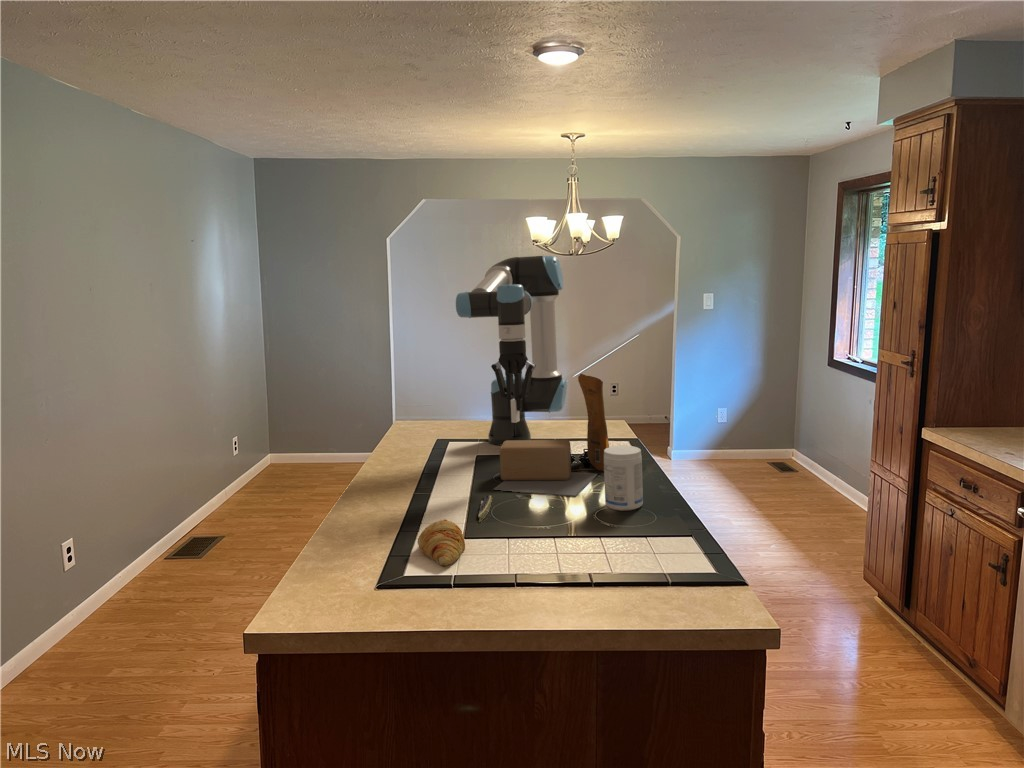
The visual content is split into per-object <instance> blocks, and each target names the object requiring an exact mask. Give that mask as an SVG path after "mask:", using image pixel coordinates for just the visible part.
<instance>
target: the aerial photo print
mask: <svg viewBox="0 0 1024 768" xmlns="http://www.w3.org/2000/svg"><path fill="white" fill-rule="evenodd" d="M492 496H493V495H491V494H490V495H484V497H483V500H481V502H480V505H479V510H478V518H479V520H478V523H480V522H481V521H482V520H483V519H484V518H485V517H486V515H487V514H488V512H489V510H490V507H491V502H492V499H493V498H492ZM513 496H516V497H519V498H520V497H522V496H524V497H525V498H527V499H528V500H532V499H533V497H532V494H525V495H524V494H523V495H522V494H513ZM516 497H515V498H516ZM481 523H482V522H481Z"/></svg>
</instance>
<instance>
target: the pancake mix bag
mask: <svg viewBox="0 0 1024 768" xmlns="http://www.w3.org/2000/svg"><path fill="white" fill-rule="evenodd" d="M577 381H578V383H579V387H580V389H581V391H582V394H583V398H584V401H585V407H586V412H587V430H586V431H587V434H586V438H587V440H586V441H587V443H586V445H587V449H586V450H587V458H588V457H589V460H590V462H589V464H590V465H592V466H593V468H594V469H595V470H598V471H603V472H604V450H605V449H606V448H609V447H610V443H609V435H608V434H609V433H608V425H607V421H606V416H605V415H606V412H605V404H604V390H603V388H604V387H603V386H604V385H603V384H604V381H603V380H601V379H600V378H599V377H595V376H592V375H586V374H583V373H580V374H579V375H578V377H577Z"/></svg>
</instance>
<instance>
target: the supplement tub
mask: <svg viewBox="0 0 1024 768" xmlns="http://www.w3.org/2000/svg"><path fill="white" fill-rule="evenodd" d="M642 459H643V458H642V450H641V448H639V447H637V446H632V445H614V446H609V448H606V449H605V450H604V471H603V473H604V474H603V475H604V476H603V478H604V479H603V480H604V498H605V499H604V500H605V505H606V506H607V508H610V509H611V510H614V511H622V512H623V511H624V512H625V511H632V510H633V511H634V510H636V509H639V508H640V507H642V506H643V503H644V496H643V494H644V491H643V486H644V485H643V462H642V461H643V460H642Z"/></svg>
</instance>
